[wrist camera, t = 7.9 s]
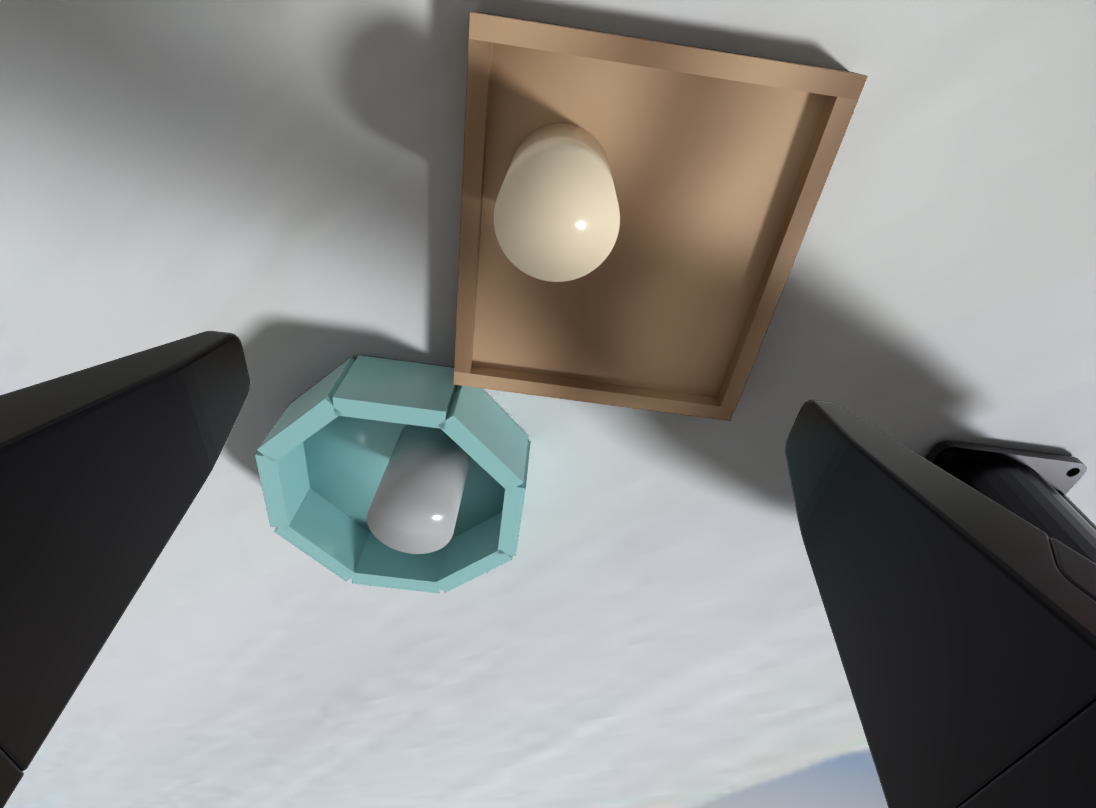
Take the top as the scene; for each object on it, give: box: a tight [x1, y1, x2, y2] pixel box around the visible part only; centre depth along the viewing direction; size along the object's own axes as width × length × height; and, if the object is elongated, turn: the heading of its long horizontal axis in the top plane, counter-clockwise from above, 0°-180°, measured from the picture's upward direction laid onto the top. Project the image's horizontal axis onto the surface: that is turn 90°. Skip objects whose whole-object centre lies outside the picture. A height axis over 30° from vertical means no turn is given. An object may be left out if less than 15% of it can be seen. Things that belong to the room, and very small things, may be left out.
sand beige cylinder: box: [494, 123, 620, 282], centre depth 16 cm, size 3×3×4 cm
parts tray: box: [454, 12, 867, 421], centre depth 19 cm, size 11×12×1 cm
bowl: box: [255, 355, 530, 593], centre depth 25 cm, size 11×11×3 cm
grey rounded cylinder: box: [367, 425, 471, 554], centre depth 23 cm, size 3×3×4 cm
